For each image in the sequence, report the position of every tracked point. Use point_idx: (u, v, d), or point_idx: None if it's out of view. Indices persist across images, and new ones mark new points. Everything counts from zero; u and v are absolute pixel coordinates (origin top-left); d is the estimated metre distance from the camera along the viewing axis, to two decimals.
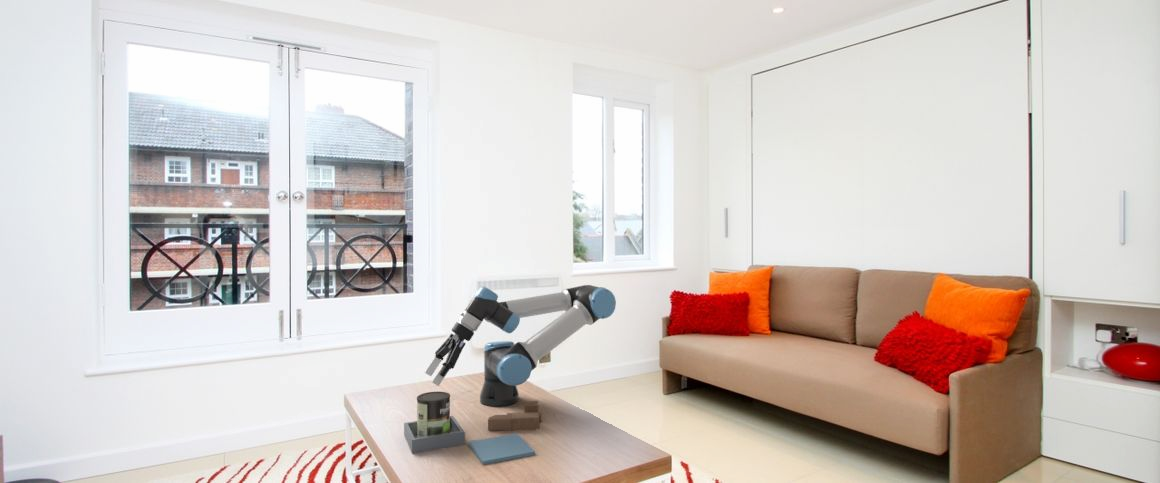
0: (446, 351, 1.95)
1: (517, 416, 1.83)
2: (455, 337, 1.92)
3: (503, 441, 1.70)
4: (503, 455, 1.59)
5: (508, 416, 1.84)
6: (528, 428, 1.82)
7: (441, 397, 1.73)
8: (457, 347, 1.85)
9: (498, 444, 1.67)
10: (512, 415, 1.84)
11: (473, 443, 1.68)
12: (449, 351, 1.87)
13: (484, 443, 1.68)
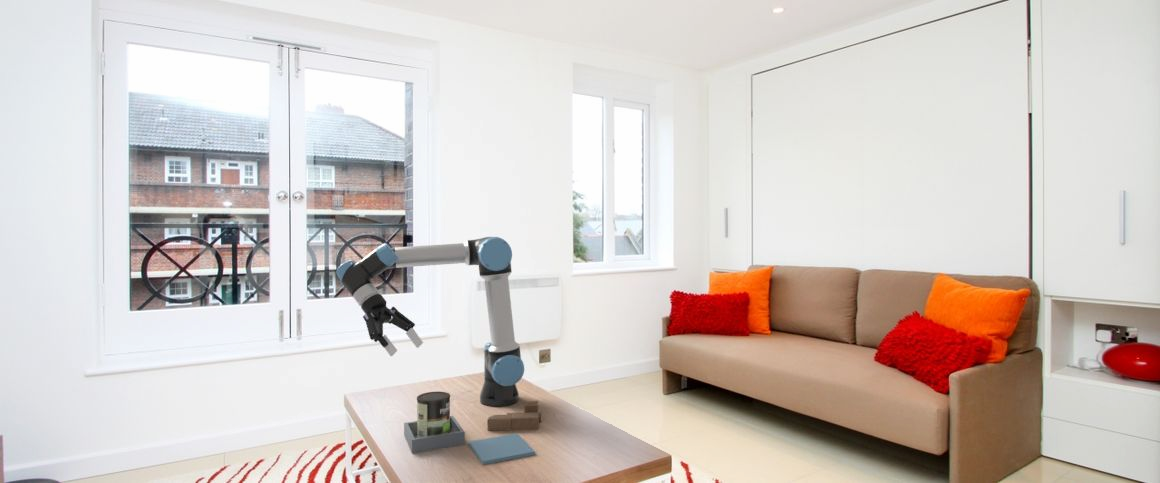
0: (398, 322, 1.83)
1: (517, 416, 1.83)
2: None
3: (503, 441, 1.70)
4: (503, 455, 1.59)
5: (508, 416, 1.84)
6: (527, 428, 1.82)
7: (441, 397, 1.73)
8: (366, 321, 1.73)
9: (498, 444, 1.67)
10: (512, 415, 1.84)
11: (473, 443, 1.68)
12: None
13: (484, 443, 1.68)
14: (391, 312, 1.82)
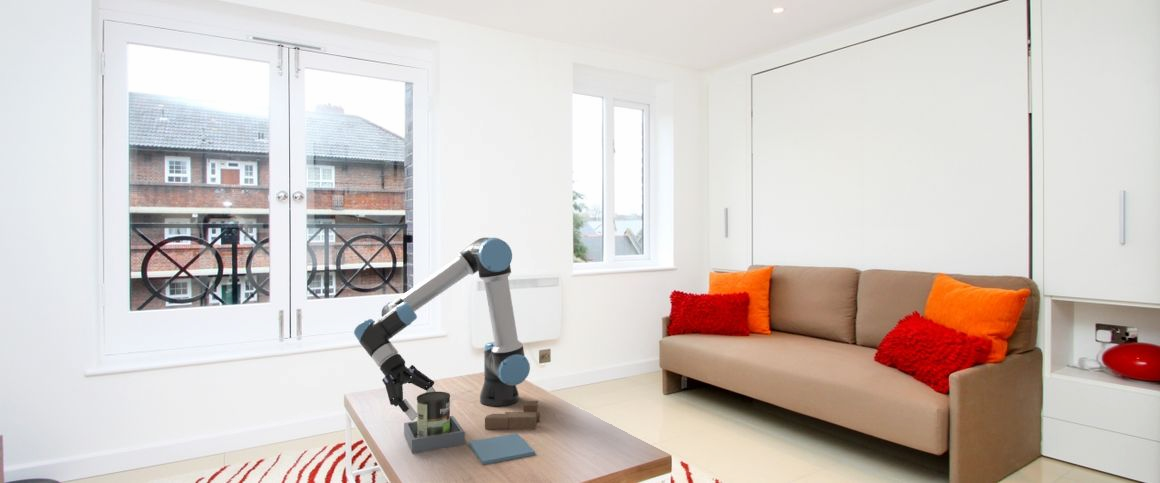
0: (417, 382, 1.80)
1: (514, 415, 1.84)
2: None
3: (503, 441, 1.70)
4: (503, 455, 1.59)
5: (505, 415, 1.85)
6: (524, 427, 1.83)
7: (441, 397, 1.73)
8: (386, 385, 1.70)
9: (498, 444, 1.67)
10: (509, 414, 1.85)
11: (473, 443, 1.68)
12: None
13: (484, 443, 1.68)
14: (410, 372, 1.79)
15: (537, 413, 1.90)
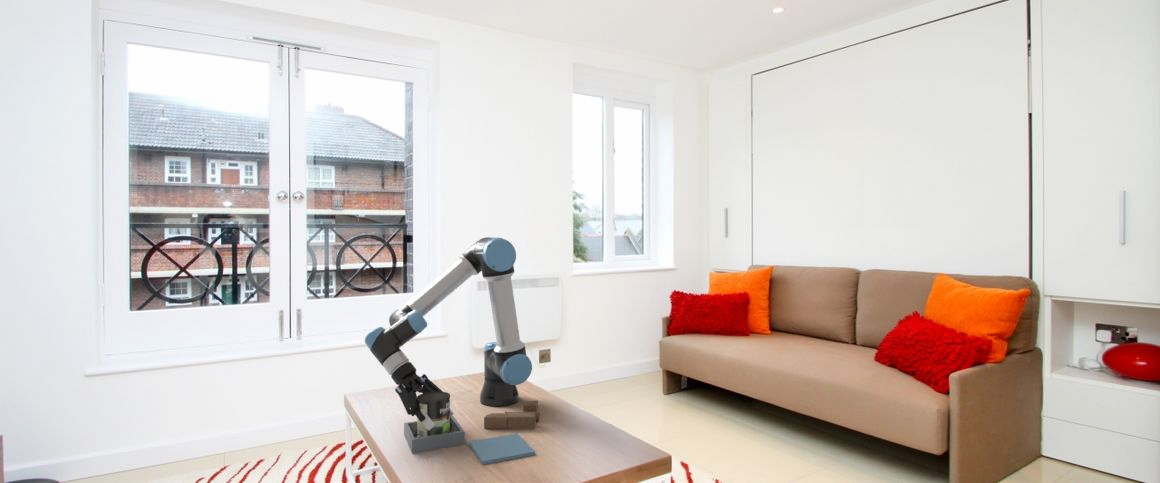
0: None
1: (513, 415, 1.84)
2: None
3: (503, 441, 1.70)
4: (503, 455, 1.59)
5: (504, 415, 1.85)
6: (523, 427, 1.83)
7: (441, 397, 1.73)
8: (400, 395, 1.69)
9: (498, 444, 1.67)
10: (508, 414, 1.86)
11: (473, 443, 1.68)
12: None
13: (484, 443, 1.68)
14: (421, 381, 1.78)
15: (536, 413, 1.90)
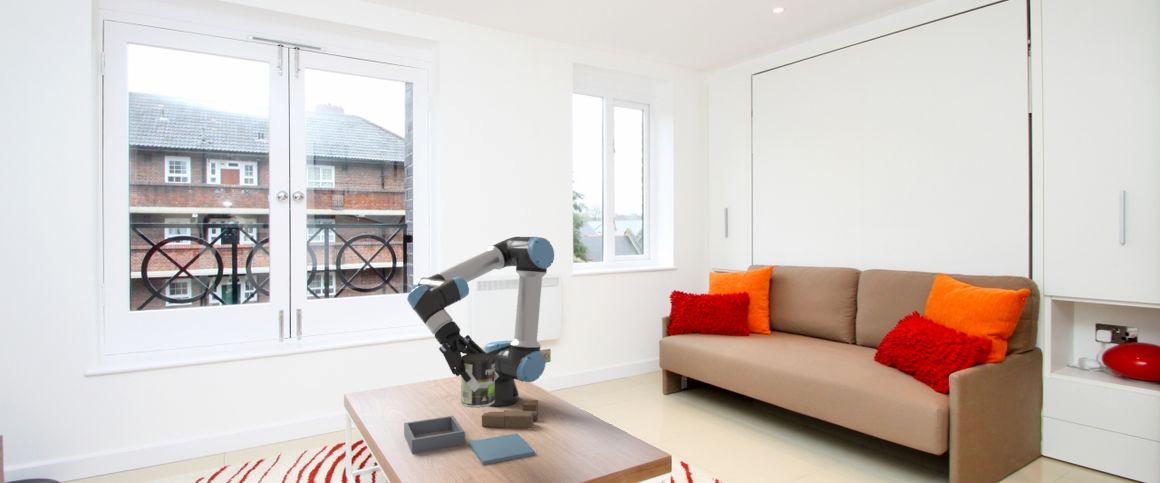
0: None
1: (510, 414, 1.85)
2: None
3: (503, 441, 1.70)
4: (503, 455, 1.59)
5: (502, 413, 1.86)
6: (520, 426, 1.84)
7: (486, 358, 1.65)
8: (444, 354, 1.62)
9: (498, 444, 1.67)
10: (506, 412, 1.87)
11: (473, 443, 1.68)
12: None
13: (484, 443, 1.68)
14: (465, 341, 1.70)
15: (535, 412, 1.91)
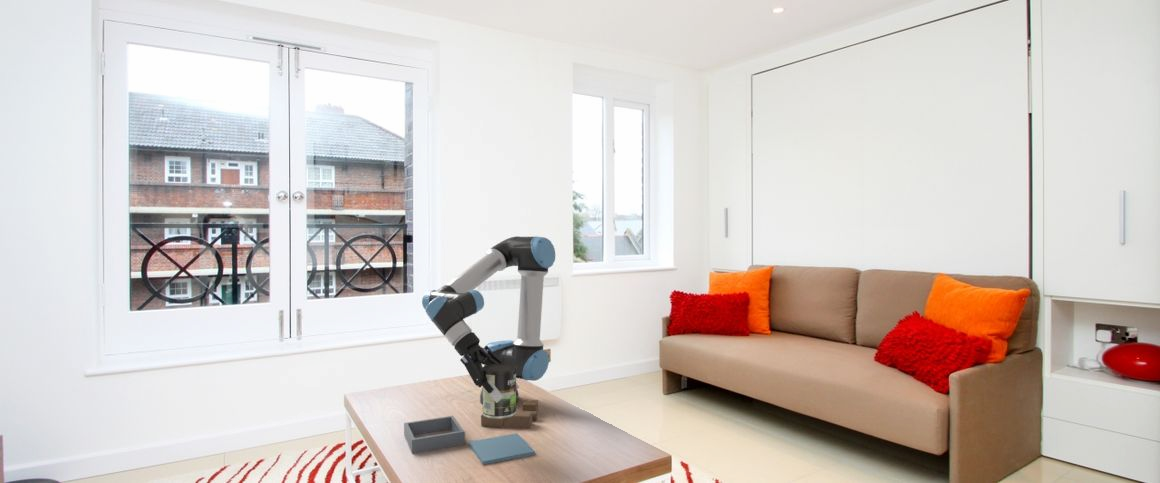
0: None
1: None
2: None
3: (503, 441, 1.70)
4: (503, 455, 1.59)
5: None
6: (519, 426, 1.84)
7: (508, 368, 1.64)
8: (466, 365, 1.61)
9: (498, 444, 1.67)
10: None
11: (473, 443, 1.68)
12: None
13: (484, 443, 1.68)
14: (485, 352, 1.69)
15: (534, 412, 1.91)
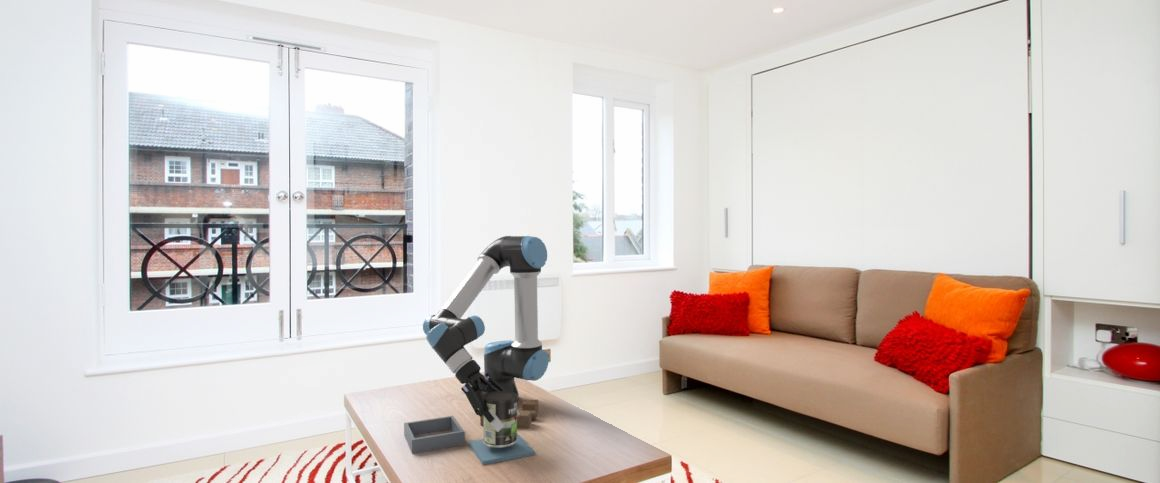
0: (492, 391, 1.70)
1: None
2: None
3: None
4: (503, 455, 1.59)
5: None
6: (518, 426, 1.84)
7: (509, 397, 1.64)
8: (467, 394, 1.61)
9: None
10: None
11: (473, 443, 1.68)
12: None
13: None
14: (486, 379, 1.70)
15: (533, 412, 1.91)
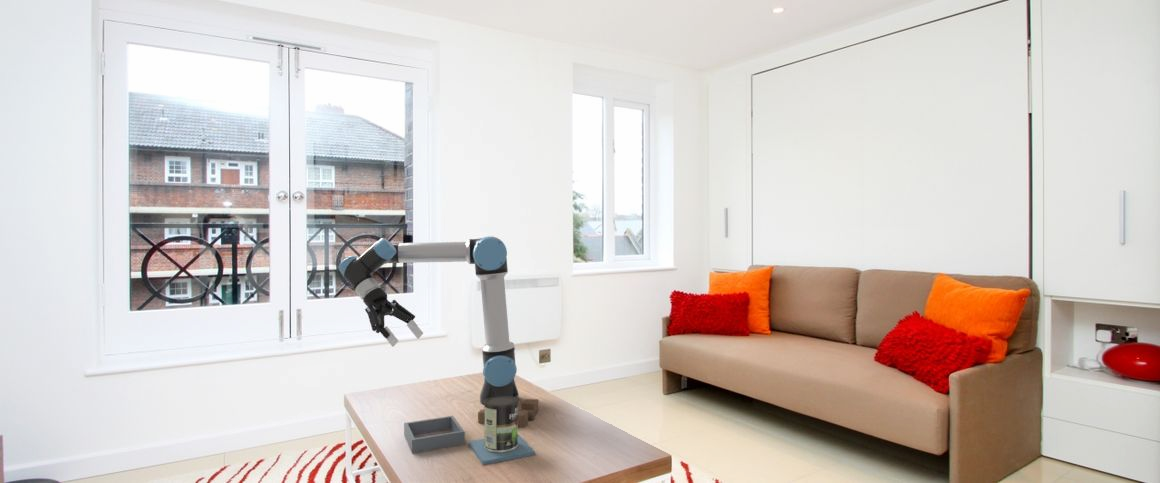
0: (399, 315, 1.91)
1: None
2: None
3: None
4: (503, 455, 1.59)
5: None
6: None
7: (509, 402, 1.65)
8: (368, 314, 1.81)
9: None
10: None
11: (473, 443, 1.68)
12: None
13: (484, 443, 1.68)
14: (392, 305, 1.90)
15: (531, 411, 1.92)
